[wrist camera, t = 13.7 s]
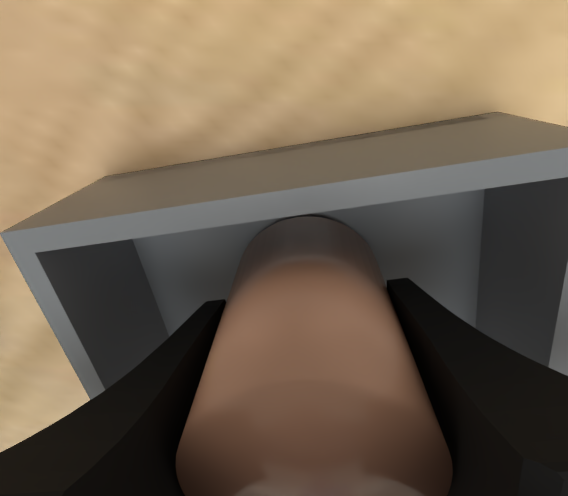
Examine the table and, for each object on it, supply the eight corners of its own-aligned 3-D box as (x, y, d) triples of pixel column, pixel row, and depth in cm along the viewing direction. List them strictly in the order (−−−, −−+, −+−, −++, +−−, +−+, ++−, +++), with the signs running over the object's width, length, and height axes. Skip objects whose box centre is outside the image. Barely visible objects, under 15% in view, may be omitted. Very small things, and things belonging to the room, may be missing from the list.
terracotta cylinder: (383, 331, 14) (449, 549, 8) (253, 344, 14) (213, 558, 8) (374, 206, 12) (457, 364, 5) (222, 227, 12) (137, 393, 6)
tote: (471, 465, 19) (524, 590, 14) (221, 479, 20) (198, 596, 16) (497, 111, 11) (622, 138, 7) (104, 176, 13) (-1, 233, 8)
